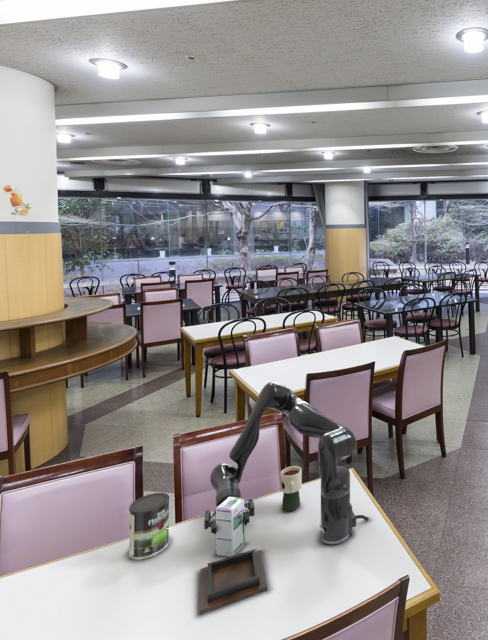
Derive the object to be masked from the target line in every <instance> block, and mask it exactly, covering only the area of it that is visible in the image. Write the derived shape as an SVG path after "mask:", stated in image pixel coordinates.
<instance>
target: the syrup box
mask: <svg viewBox="0 0 488 640" xmlns="http://www.w3.org/2000/svg"><path fill="white" fill-rule="evenodd" d="M244 503H245V498H243V497H241V498H238V497H228V498H227V499H226V500H225V501H224V502H222V503H221V504H220V505H219V506H218V507H217V508H216V507H215V510H216V534H215V535H216V537H215V539H216V541H215V543H216V544H215V545H216V548H215V549H216V555H217V556H222V557H231V556H234V555H237V554H238V552H239V551H240V550H241V549H242V548H243V547H244V546H245V543H246V541H245V540H246V539H245V538H246V535H245V533H246V531H245V524H244Z"/></svg>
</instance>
